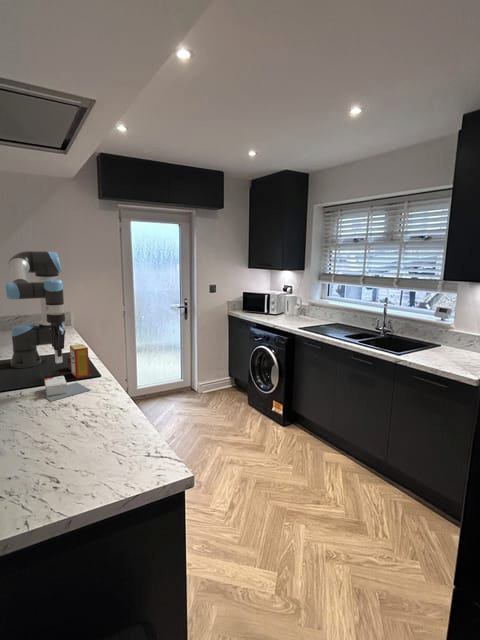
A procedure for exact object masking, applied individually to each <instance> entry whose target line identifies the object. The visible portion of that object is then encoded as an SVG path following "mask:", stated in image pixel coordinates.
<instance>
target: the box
mask: <svg viewBox="0 0 480 640" xmlns="http://www.w3.org/2000/svg"><path fill="white" fill-rule="evenodd" d="M67 366H68V371H71V358H70V356H68V357H67Z"/></svg>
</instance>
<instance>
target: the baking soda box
mask: <svg viewBox="0 0 480 640" xmlns="http://www.w3.org/2000/svg"><path fill="white" fill-rule="evenodd" d="M69 354H70V355H69V357H70V358H71V370H70V371H71V374H72V376H73V377H74V378H75V377H76V378H75V379H81V378H82V379H83V378H87V377H90V364H89V363H90V362H89V361H90V360H89V348H88V346H86V345H85V344H84V343H79V344H71V345H69ZM86 376H87V377H86Z"/></svg>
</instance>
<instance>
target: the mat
mask: <svg viewBox="0 0 480 640" xmlns="http://www.w3.org/2000/svg"><path fill="white" fill-rule="evenodd" d="M90 391H91V389H89V387H86V386H85V385H82V384H81V383H78V382H74V383H69V384H67V393H64V394H58V395H51V396H47V394H46V390H42V391H39V392H38V394H39V395H40V396H42V397H43V398H45V399H46V400H47V401H49V402H55V401H59V400H62V399H66V398H69V397H73V396H76V395H79V394H83V393H86V392H90Z"/></svg>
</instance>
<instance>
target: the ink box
mask: <svg viewBox="0 0 480 640" xmlns="http://www.w3.org/2000/svg"><path fill="white" fill-rule="evenodd" d="M67 385H68V384H67V380H66V378H65V376H64V375H60V376H53V377H48V378H44V386H45V387H44V388H45V391H46V394H47V396H51V395H58V394H64V393H67Z"/></svg>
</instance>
